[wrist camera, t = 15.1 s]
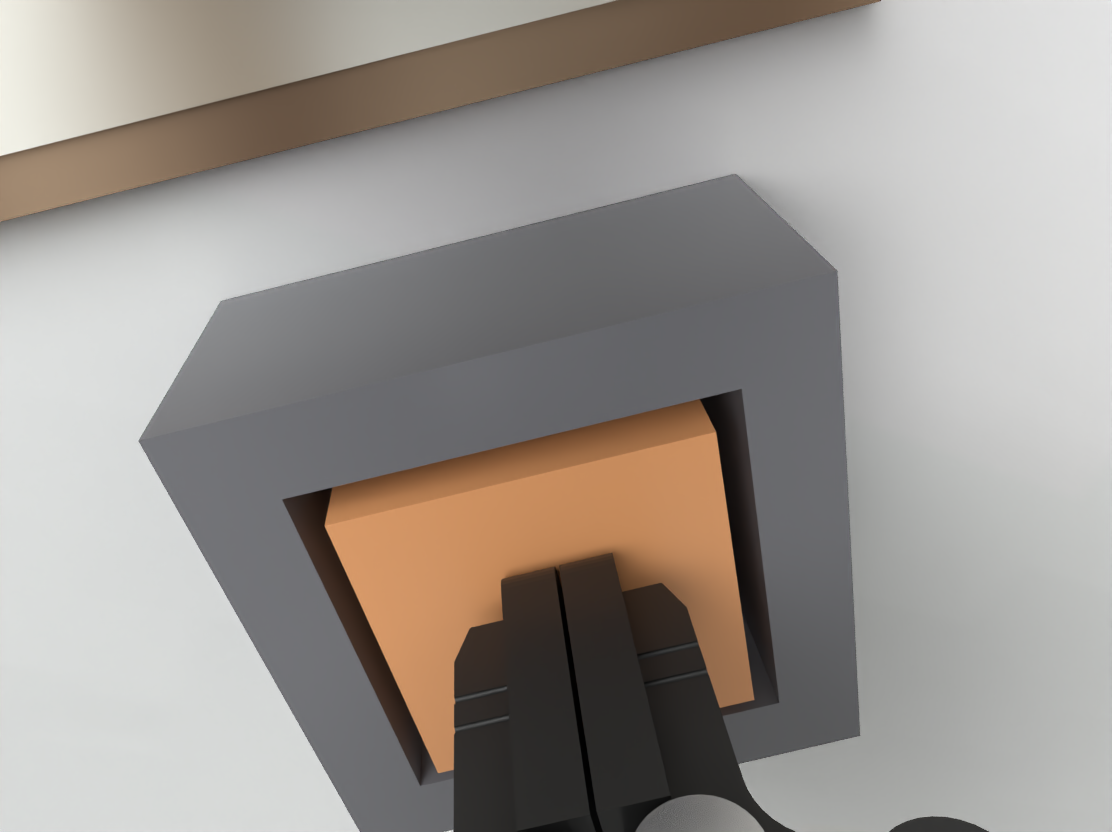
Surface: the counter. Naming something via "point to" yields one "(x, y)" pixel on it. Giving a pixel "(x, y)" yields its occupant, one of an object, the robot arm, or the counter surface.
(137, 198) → the counter surface
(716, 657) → the button
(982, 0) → the counter surface
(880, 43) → the counter surface
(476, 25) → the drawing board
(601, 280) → the button housing
